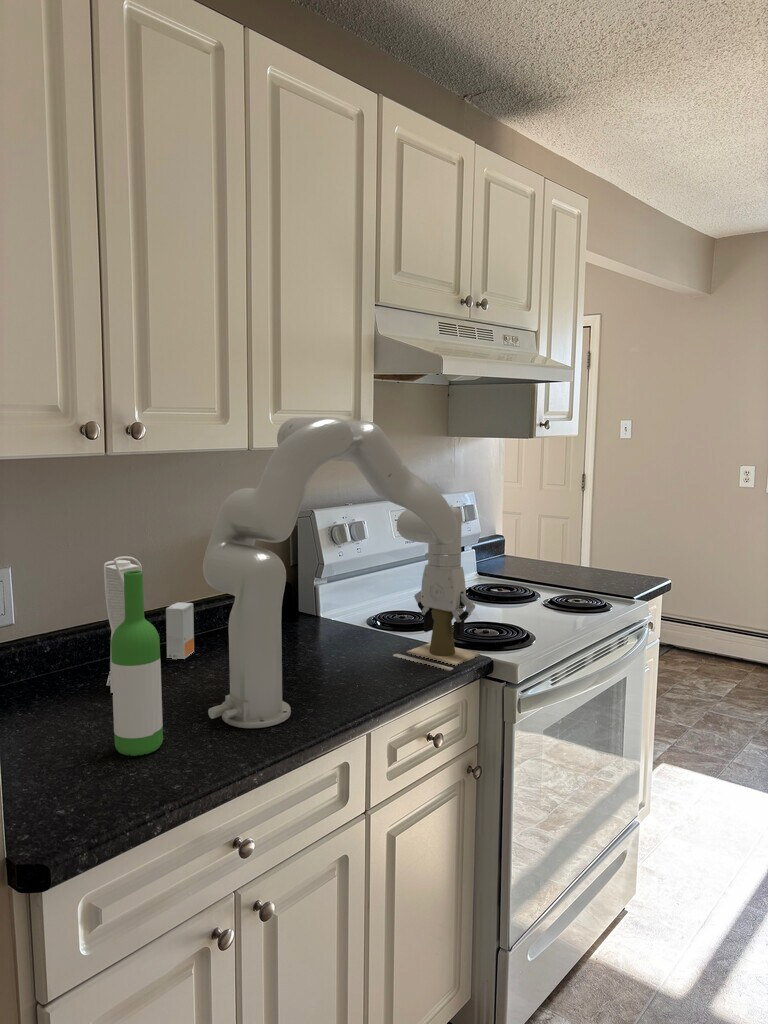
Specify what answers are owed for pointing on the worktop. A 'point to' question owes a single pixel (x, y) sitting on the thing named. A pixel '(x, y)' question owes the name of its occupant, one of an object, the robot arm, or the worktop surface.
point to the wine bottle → (136, 676)
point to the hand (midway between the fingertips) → (443, 633)
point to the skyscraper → (116, 593)
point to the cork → (442, 634)
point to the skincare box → (180, 630)
